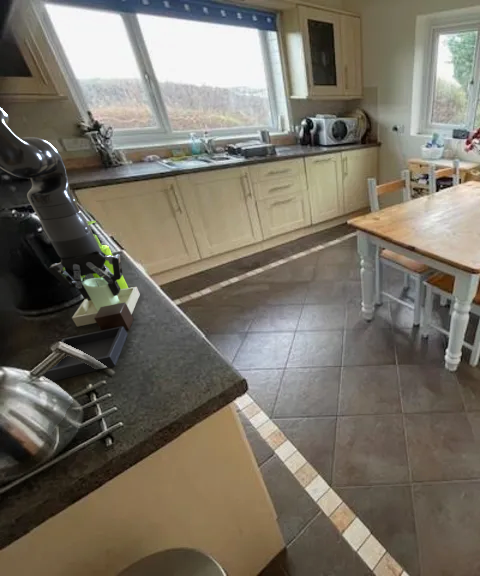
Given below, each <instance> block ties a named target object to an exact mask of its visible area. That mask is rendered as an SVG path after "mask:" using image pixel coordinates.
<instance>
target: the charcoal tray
mask: <svg viewBox="0 0 480 576" xmlns="http://www.w3.org/2000/svg"><path fill="white" fill-rule="evenodd" d="M127 338H128V333H127V331H126V330H125V329H124V327H123V326H121V327H116V328H111V329H107V330H102V331H101V330H98V331H93V332H88V333H83V334H79V335H74V336H69V337H64V338H62V339H61V340H60V342H64V343H66V344H68V345H71V346H72V347H74V348H76V349H79V350H81V351H83V352H84V353H86V354H88V355H90V356H92V357H94V358H95V359H96V360H98V361H100V362H101V363H103V364H104V365H106V366H107V367H108V368H107V369H109V368H114V367H116V366H117V363H118V361H119V358H120V355H121V352H122V350H123V348H124V345H125V343H126V340H127ZM93 372H98V370H96V369H94V368H92V367H91V366H89V365H87V364H85V363H84V362H81V361H79V360H78V359H75V358H73V357H70V356H67V357H65V358H64V359H62V360H61V361H60V362H59V363H58V364H57V365H56V366H54V367H53V368H52V369H50V370H48V371H47V372H46V373H45V374H44V376H45V377H46V378H48V379H50V380H52V382H56V381H60V380H64V379H68V378H73V377H77V376H80V375H85V374H88V373H93Z"/></svg>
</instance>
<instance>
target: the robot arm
mask: <svg viewBox="0 0 480 576" xmlns="http://www.w3.org/2000/svg"><path fill="white" fill-rule="evenodd" d="M9 122H10V118H9V115H8V114H7V113H6V112H5V111H4V110H3V108H1V107H0V169H1V170H3V171H4V172H6V173H8V174H10V175H12V176H15V177H18V178H22V179H30V181H31V188H30V189H29V190H28V192H27V193H26V197H27V200H28V202H29V204H30V206H31V207H32V209H33V211H34V213H35V214H36V216H37V217H38V219H39V220H38V221H40V224H41V228H42V229H43V232H45V236H46V237H47V238H48V240H49V242H50V243H51V246H52V247H53V248H54V250H55V253H56V254H57V255H58V258H60V262H58V263H57V262H55V263H53V264H51V265H50V266H49V268H48V271H49V272H50V273H51V274H52V276H53V277H55V278H56V279H57V280H58V281H59V283H61V284H62V285H63V286H64V287H65V288H66V289H71V288H76V289H77V290H78V291H79V293H80V294H81V296H82V298H84V299H87V300H88V301H90V300H91V298H90V297H89V295H88V293H87V291H86V289H85V288H84V286H83V281H85V280H86V276H87V275H93V274H97V275H99V276H100V277H102V278H103V279H104V280H106V281H107V282H108V286H109V288H110V290H111V292H112V294H113V295H114V296H117V295H118V294H119V292H120V287H119V285H118V283H117V281H116V280H119V279H120V278H121V276H122V275H123V273H124V272H123V265H122V257H121V255H120V254H119V253H115V254H112V255H106V254H104V253H103V252H102V251H101V249H100V247H99V245H98V243H97V241H96V239H95V237H94V235H95V234H94V233H93V230H92V229H91V227H90V225H88V223H87V221H88V220H87V219H86V218H85V216H84V214H83V213H82V212H81V210H80V208H79V206H78V203H77V202H76V200H75V198H74V196H73V194H72V192H71V189H70V183H69V178H68V177H69V176H68V174H67V169H66V166H65V163H64V160H63V158H62V156H61V154H60V153H59V152H58V150H57V149H56V148H55V147H54V146H53V145H52V144H51V143H50V142H48V141H47V140H44V139H42V138H40V137H37V136H24V137H18V136H17V135H16V134H15V133H14V132H13V131H12V130H11V129H10V128H9V127H8V125H9ZM93 234H94V235H93ZM106 260H107V261H109V263H110V264H112V265H113V271H114V274H112V273H111V272H110V270H109V268H107V267H106V266H105V265H104V263H105V261H106ZM66 269H67V270H69V271H71V272H73V276H71V275H70V274H69V273H68V272H67V271H66Z"/></svg>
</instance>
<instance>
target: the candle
mask: <svg viewBox="0 0 480 576" xmlns="http://www.w3.org/2000/svg"><path fill="white" fill-rule="evenodd" d="M83 286H84V288H85V289H86V291H87V293H88V295H89V297H90V298H91V300H92V302H93V304H94V306H95V307H96V309H97V311H99V309H100V307H104V306H109V305H114V304H119V303H120V301H119V299H118V297H117V296H114V295H113V294H112V292H111V290H110V288H109V286H108V282H107V281H106V280H104V279H103V278H94V277H90V278H86V279H85V281H83Z"/></svg>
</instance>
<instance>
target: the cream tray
mask: <svg viewBox="0 0 480 576" xmlns="http://www.w3.org/2000/svg"><path fill="white" fill-rule="evenodd" d="M140 295H141V293H140V291H139V289H138V286H132V287H128V288H126V289H120V292H119V294H118V295H117V297H118V299H119V301H120V303H126V305H127V307H128V309H129V311H130V313H131V315H132V316H133V312H134V310H135V307H136V306H137V303H138V300H139V298H140ZM97 313H98V311H97V309H96V307H95V306H94V304H93V302H92V300H90V301H88V300H87V299H85V298H84V300H83V301H81V304H80V305H79V306H78V308H77V310H76V311H75V312H74V314H73V316H72V317H71V319H72V321H73V323H74V324H75V326H76V327H82V326H83V327H84V326H86V325H92V324H97V322H96V321H95V319H94V318H95V316H96V314H97Z"/></svg>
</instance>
